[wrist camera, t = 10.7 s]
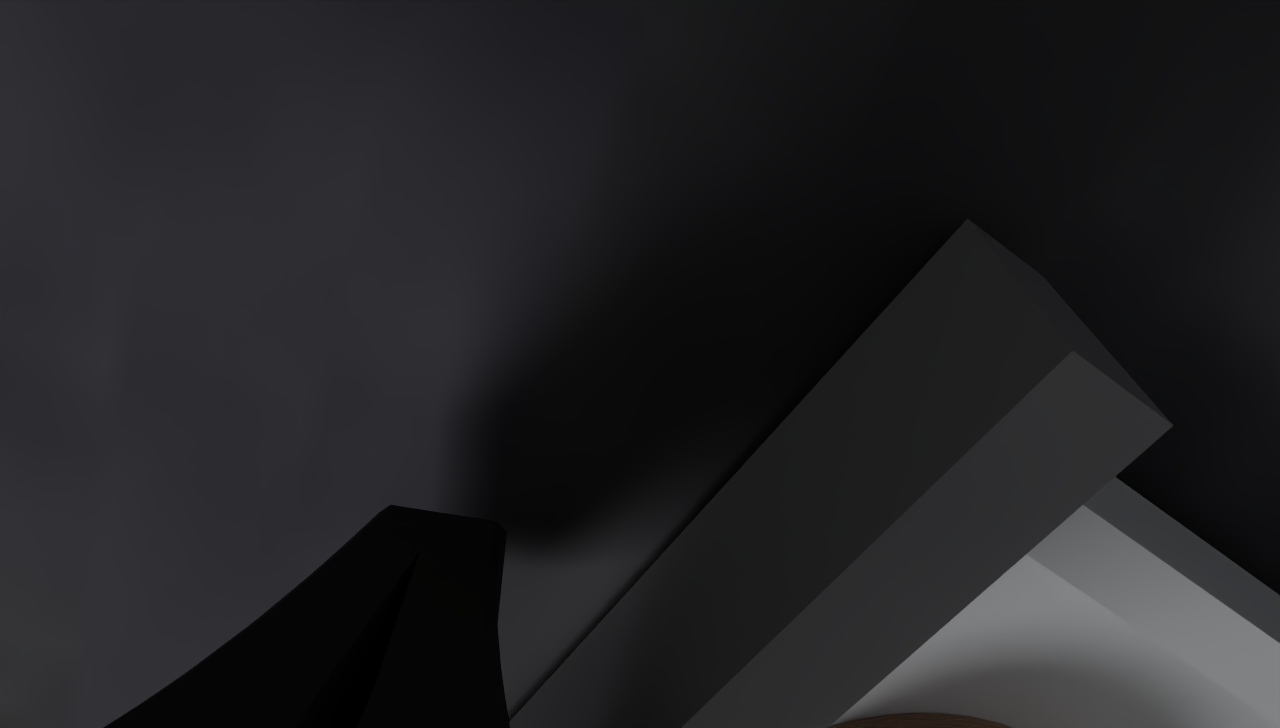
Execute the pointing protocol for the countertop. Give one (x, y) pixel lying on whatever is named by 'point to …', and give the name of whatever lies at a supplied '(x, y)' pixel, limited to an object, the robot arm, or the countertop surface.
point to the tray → (939, 548)
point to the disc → (921, 721)
